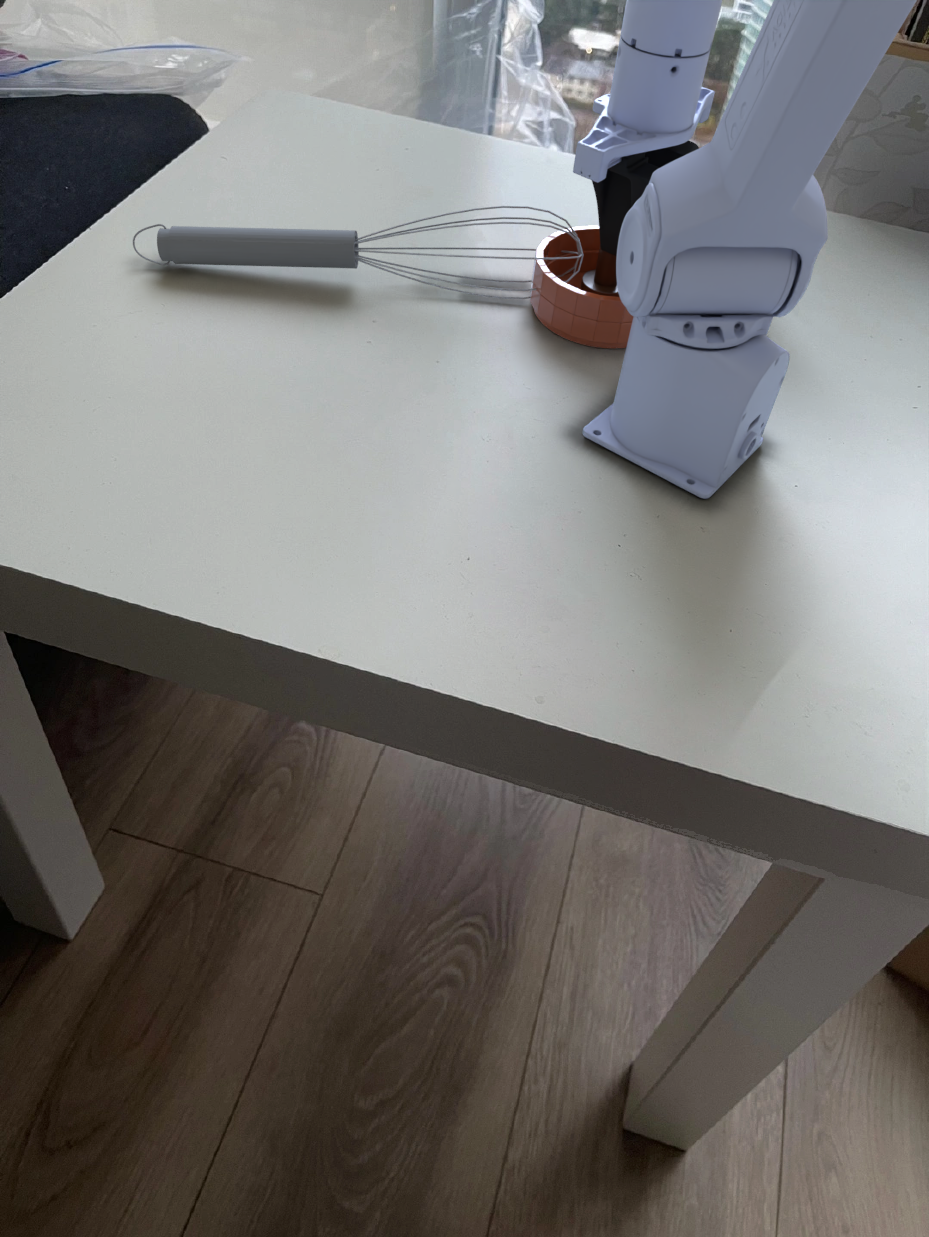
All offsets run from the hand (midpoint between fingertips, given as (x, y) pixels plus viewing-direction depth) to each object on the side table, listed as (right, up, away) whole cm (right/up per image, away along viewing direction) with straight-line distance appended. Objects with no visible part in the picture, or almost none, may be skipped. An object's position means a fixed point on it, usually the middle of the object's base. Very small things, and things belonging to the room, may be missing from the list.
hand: (622, 247), depth 70 cm
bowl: (-1, -4, +3) cm, 5 cm away
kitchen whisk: (-19, -2, +3) cm, 20 cm away
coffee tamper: (-1, -2, +3) cm, 4 cm away
